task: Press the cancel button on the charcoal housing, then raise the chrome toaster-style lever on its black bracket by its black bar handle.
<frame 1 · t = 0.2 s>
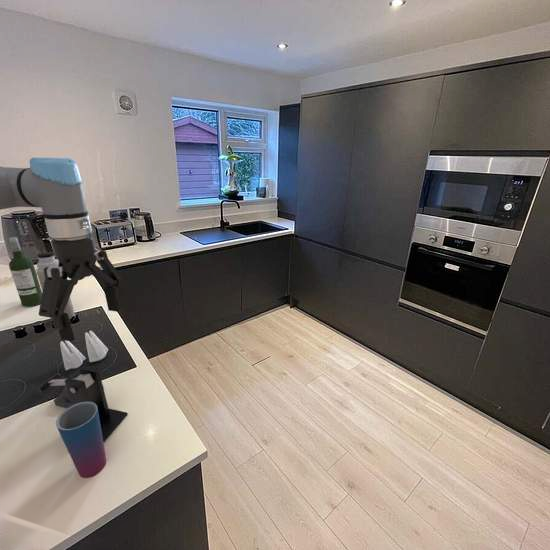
hand: (93, 323, 68), 25 cm above the worktop, tool pointing down, fingers open, 13 cm apart
thermos bottle: (63, 319, 117), on the worktop
toaster lever: (67, 382, 67), point 13 cm above the worktop, hinge at -15.0°
cancel button: (77, 385, 77), point 5 cm above the worktop, slide at 0.2 cm
button housing: (80, 398, 79), on the worktop
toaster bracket: (96, 426, 71), on the worktop
wine bottle: (33, 303, 129), on the worktop
shaker set: (88, 363, 93), on the worktop
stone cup: (84, 262, 181), on the worktop
cup: (93, 468, 62), on the worktop
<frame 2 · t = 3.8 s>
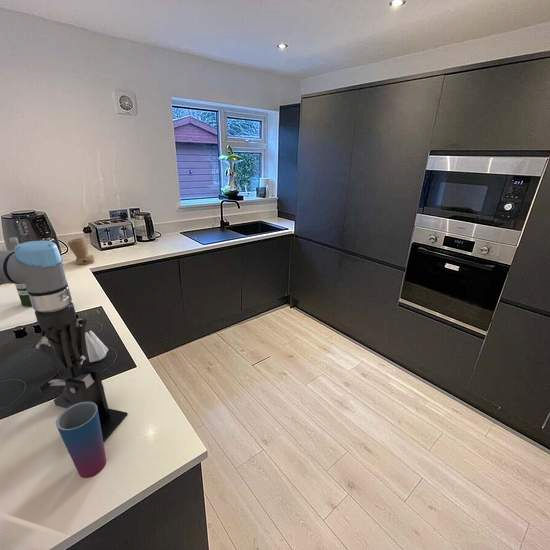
hand: (77, 383, 77), 5 cm above the worktop, tool pointing down, fingers closed
cancel button: (77, 387, 78), point 4 cm above the worktop, slide at -0.5 cm, touching gripper
everything else where it was.
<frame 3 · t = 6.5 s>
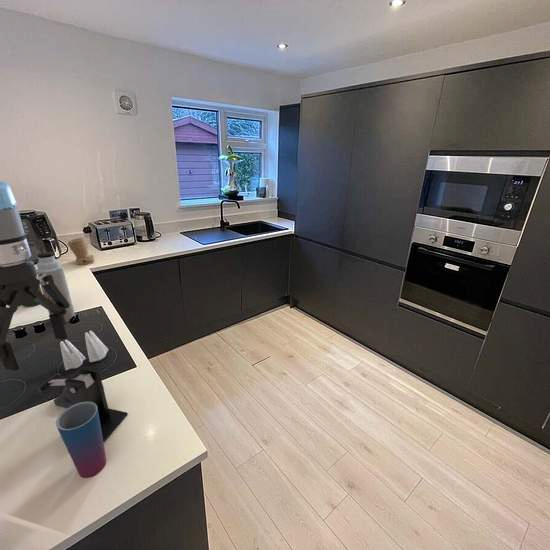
hand: (39, 352, 66), 20 cm above the worktop, tool pointing down, fingers open, 11 cm apart
cancel button: (77, 385, 77), point 5 cm above the worktop, slide at 0.2 cm
everything else where it was.
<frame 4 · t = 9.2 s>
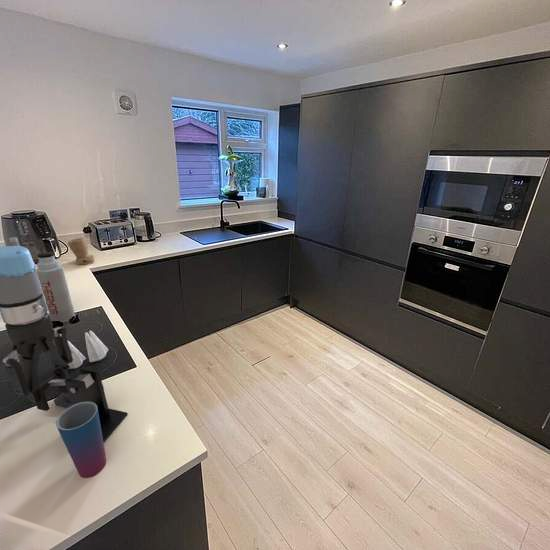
hand: (54, 399, 71), 6 cm above the worktop, tool pointing down, fingers closed on toaster lever, 5 cm apart
toaster lever: (67, 382, 67), point 13 cm above the worktop, hinge at -15.0°, touching gripper
everything else where it was.
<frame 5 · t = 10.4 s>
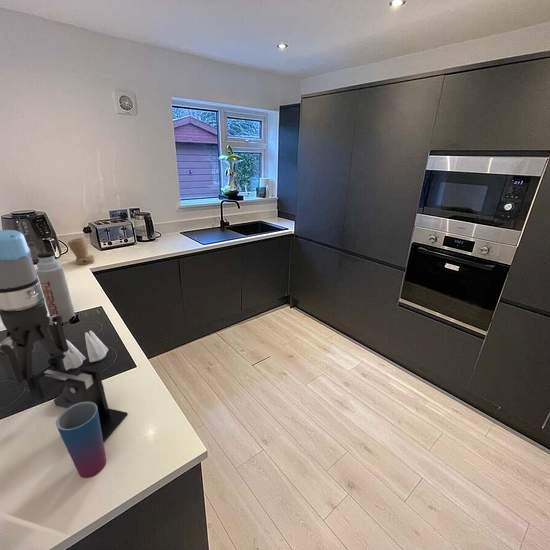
hand: (49, 388, 70), 9 cm above the worktop, tool pointing down, fingers closed on toaster lever, 5 cm apart
toaster lever: (64, 376, 67), point 14 cm above the worktop, hinge at 1.3°, touching gripper
everything else where it was.
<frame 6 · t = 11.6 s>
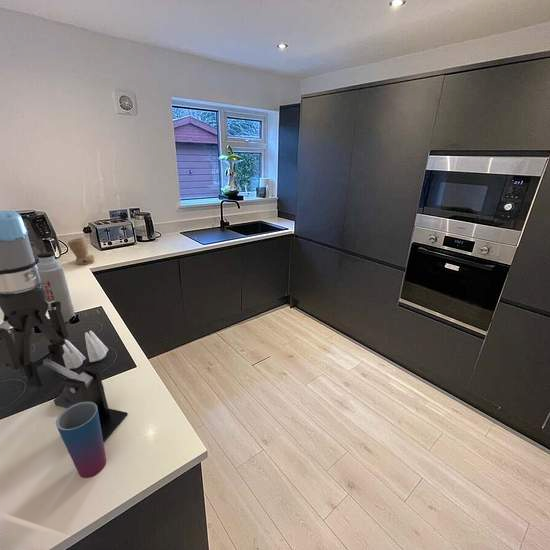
hand: (48, 376, 68), 13 cm above the worktop, tool pointing down, fingers open, 5 cm apart
toaster lever: (64, 371, 66), point 16 cm above the worktop, hinge at 20.8°
everything else where it was.
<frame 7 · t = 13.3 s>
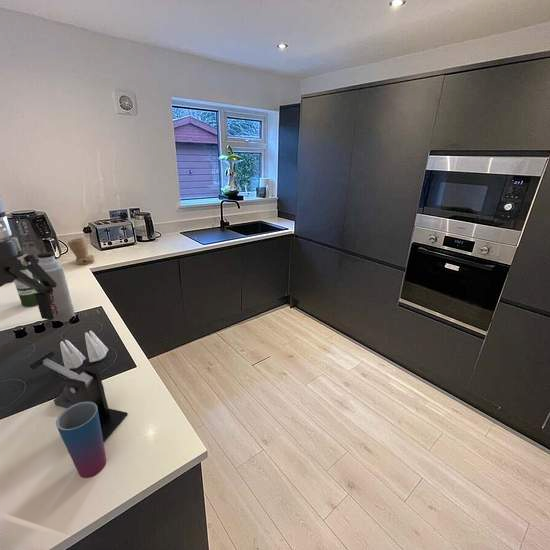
hand: (19, 333, 63), 25 cm above the worktop, tool pointing down, fingers open, 13 cm apart
nothing on the worktop moved.
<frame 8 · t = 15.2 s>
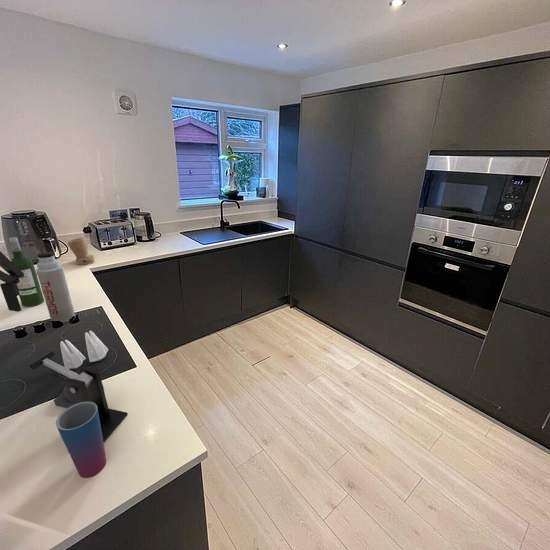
nothing on the worktop moved.
at the end: cancel button pushed in 1.0 cm at the most during the clip, back to 0.2 cm at the end; cancel button slide at 0.2 cm; toaster lever at +21° (first picture: -15°) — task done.
